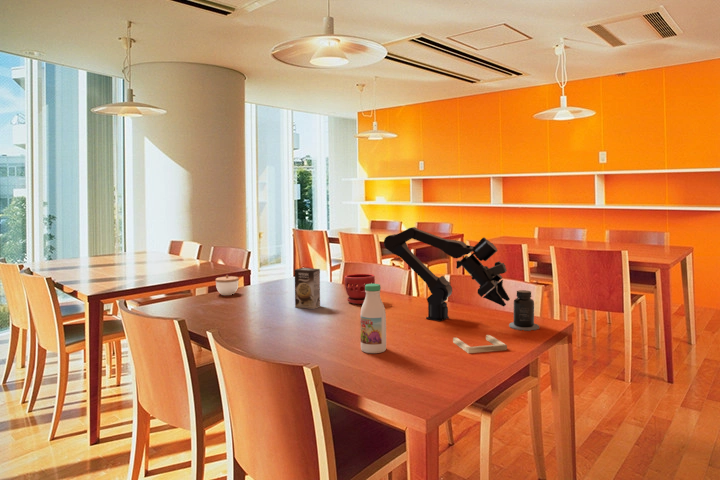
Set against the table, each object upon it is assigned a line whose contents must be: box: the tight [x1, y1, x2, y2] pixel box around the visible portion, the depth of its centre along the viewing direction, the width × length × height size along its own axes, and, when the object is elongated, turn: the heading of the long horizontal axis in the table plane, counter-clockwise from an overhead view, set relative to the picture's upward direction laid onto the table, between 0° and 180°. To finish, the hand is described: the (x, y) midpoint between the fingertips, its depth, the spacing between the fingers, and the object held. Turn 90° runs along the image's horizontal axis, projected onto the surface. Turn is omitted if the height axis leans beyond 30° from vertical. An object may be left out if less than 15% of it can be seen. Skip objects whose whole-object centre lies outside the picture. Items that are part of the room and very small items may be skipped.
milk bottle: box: [359, 283, 387, 354], centre depth 147 cm, size 8×8×20 cm
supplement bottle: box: [513, 289, 535, 327], centre depth 171 cm, size 7×7×12 cm
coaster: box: [508, 321, 540, 332], centre depth 171 cm, size 10×10×1 cm
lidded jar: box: [215, 274, 239, 296], centre depth 236 cm, size 11×11×9 cm
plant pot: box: [344, 273, 376, 305], centre depth 215 cm, size 13×13×12 cm
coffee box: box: [294, 267, 321, 310], centre depth 207 cm, size 9×6×16 cm
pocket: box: [452, 334, 508, 354], centre depth 151 cm, size 11×12×2 cm
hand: (506, 302), depth 173 cm, fingers open, 9 cm apart
